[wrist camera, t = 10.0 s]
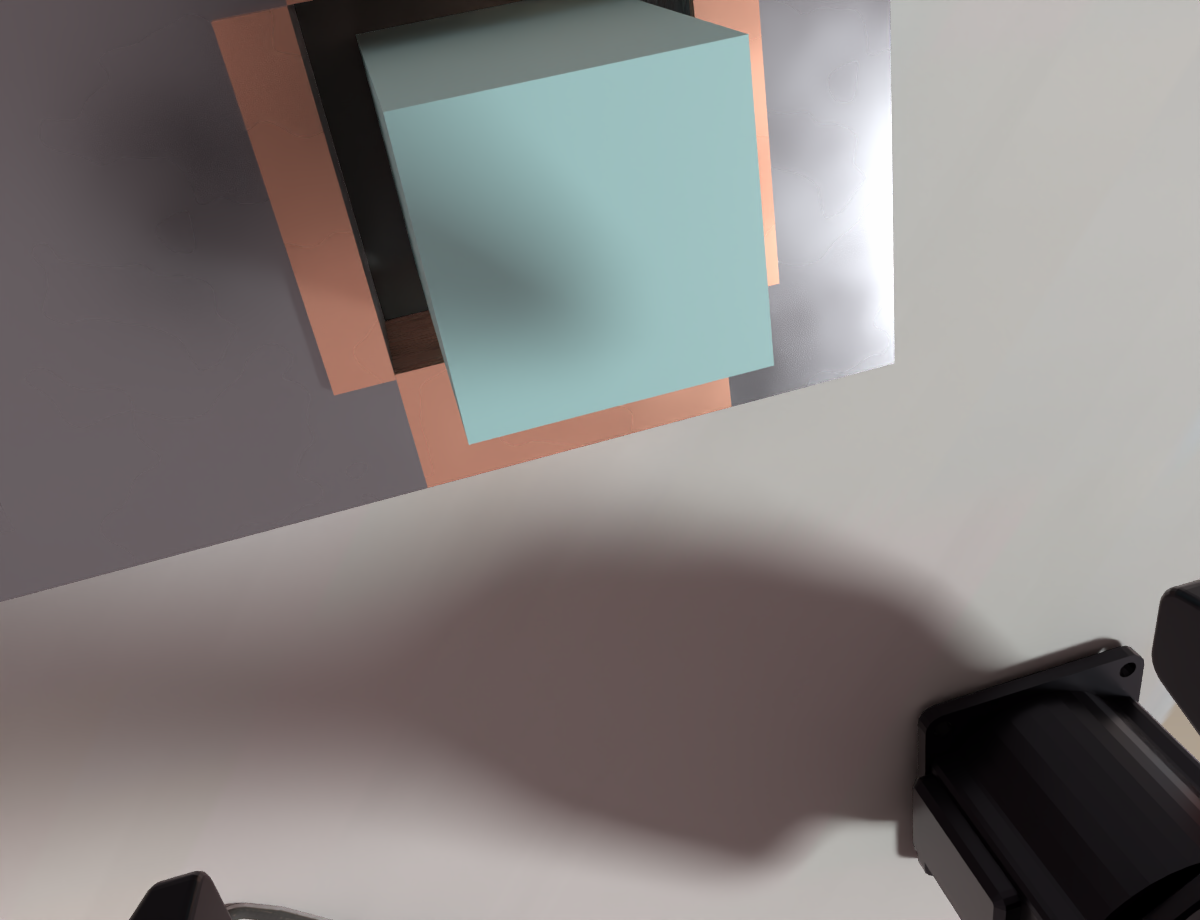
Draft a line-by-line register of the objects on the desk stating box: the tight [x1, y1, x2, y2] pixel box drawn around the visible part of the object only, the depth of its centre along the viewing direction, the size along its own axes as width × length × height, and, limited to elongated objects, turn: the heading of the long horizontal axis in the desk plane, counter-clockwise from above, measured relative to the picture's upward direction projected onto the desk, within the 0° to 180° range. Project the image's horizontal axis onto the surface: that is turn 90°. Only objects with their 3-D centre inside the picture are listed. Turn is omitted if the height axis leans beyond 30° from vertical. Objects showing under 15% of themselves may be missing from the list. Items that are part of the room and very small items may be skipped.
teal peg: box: [356, 0, 774, 445], centre depth 15 cm, size 4×4×7 cm
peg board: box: [0, 0, 894, 602], centre depth 16 cm, size 24×10×3 cm, turn 100°
